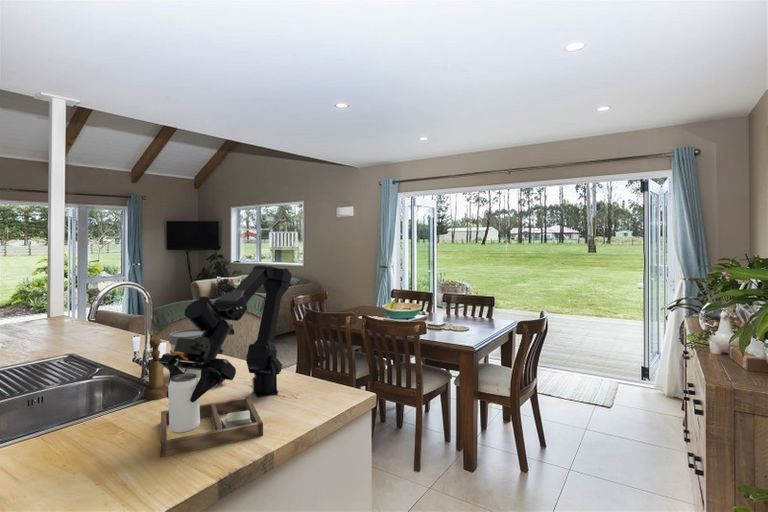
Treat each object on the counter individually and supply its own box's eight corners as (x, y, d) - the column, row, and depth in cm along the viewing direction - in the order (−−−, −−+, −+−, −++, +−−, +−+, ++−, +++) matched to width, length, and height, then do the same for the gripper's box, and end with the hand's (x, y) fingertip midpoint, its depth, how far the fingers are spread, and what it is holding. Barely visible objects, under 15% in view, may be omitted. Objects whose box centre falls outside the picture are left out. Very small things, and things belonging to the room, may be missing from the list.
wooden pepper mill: (173, 393, 129) (172, 335, 128) (155, 401, 123) (154, 340, 122) (157, 390, 131) (155, 333, 131) (138, 398, 125) (137, 338, 125)
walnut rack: (249, 407, 119) (249, 396, 119) (263, 435, 102) (262, 423, 102) (161, 422, 109) (161, 411, 109) (160, 456, 92) (160, 443, 92)
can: (176, 421, 102) (174, 373, 101) (203, 420, 102) (202, 372, 102) (164, 434, 95) (162, 382, 95) (194, 433, 96) (192, 381, 95)
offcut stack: (249, 423, 109) (249, 408, 109) (254, 433, 103) (254, 417, 103) (221, 428, 106) (220, 413, 105) (224, 439, 100) (223, 423, 100)
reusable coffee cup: (204, 380, 141) (203, 336, 140) (164, 382, 139) (163, 337, 138) (213, 368, 153) (212, 328, 153) (176, 370, 151) (175, 329, 151)
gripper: (163, 321, 104) (125, 379, 94) (227, 325, 98) (193, 389, 88) (188, 344, 112) (155, 400, 102) (248, 350, 106) (220, 410, 96)
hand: (179, 399), depth 97 cm, fingers closed on can, 6 cm apart
